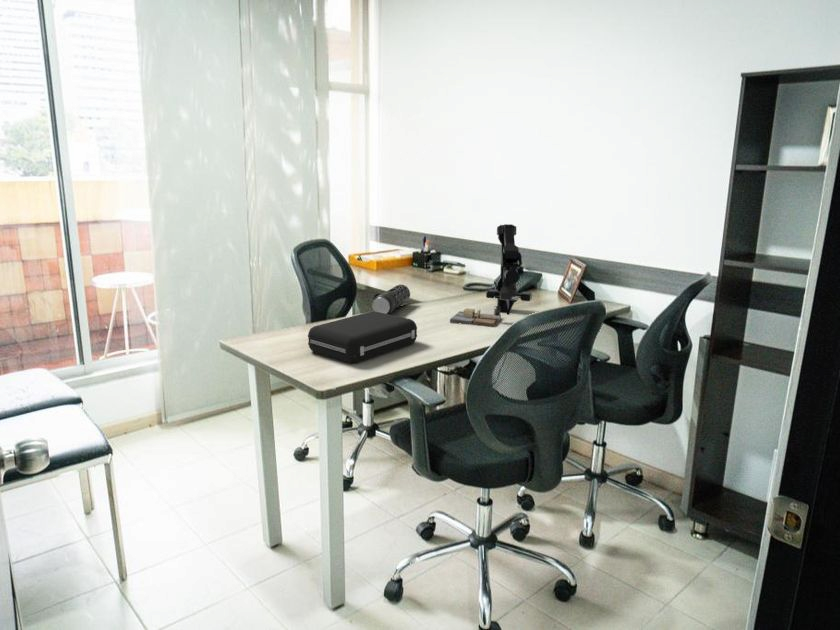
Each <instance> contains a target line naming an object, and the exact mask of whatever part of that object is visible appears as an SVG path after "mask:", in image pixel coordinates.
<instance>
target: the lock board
mask: <svg viewBox="0 0 840 630" xmlns="http://www.w3.org/2000/svg"><path fill="white" fill-rule="evenodd" d="M463 314H464V311H461V310H460V311H458V312H457V313H456V314H455V315H453V316H451V317H450V319H449V323H450V322H452V323H451V324H459V323H461V324H462V325H469V324H470V326H471V325H472V326H479V327H480V326H481V327H490V328H493V327H495V325H496V324H497V323H498V322H499V321H500V319H501V317H502V315H501V314H500V318H499V319H492V318H481V313H480V317H479V318H478V319H477V312H475V316H473V318H467V317H463Z"/></svg>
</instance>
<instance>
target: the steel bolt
mask: <svg viewBox="0 0 840 630" xmlns="http://www.w3.org/2000/svg"><path fill="white" fill-rule="evenodd" d="M480 314H481V318H492V319H499V318H500V315H501V312H500V306H497V305H495V306H494V312H493V313H485V312H480Z"/></svg>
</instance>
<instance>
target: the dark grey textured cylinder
mask: <svg viewBox="0 0 840 630" xmlns="http://www.w3.org/2000/svg"><path fill="white" fill-rule="evenodd" d="M410 297H411V291H410V289H409V287H408V286H407V285H404V284H397V285H395V286H394V287H392V288H390V289H389V290H387V291H385V292H383V293H380V294H379V295H377V296H375V298H374V299H373V301H372V311H376V312H380V313H385V314H389V315H391V313H392V312H394V311H395V310H397V309H398V308H399V307H401V306H402V305H403V304H405V303H406V302H408V301H409V300H410ZM396 308H397V309H396Z"/></svg>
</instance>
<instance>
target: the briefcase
mask: <svg viewBox="0 0 840 630" xmlns="http://www.w3.org/2000/svg"><path fill="white" fill-rule="evenodd" d="M417 329H418V327H417V323H416V322H415V321H414V320H413V319H411V318H405V317H402V316H399V315H398V316H397V315H392V314H385V313H380V312H376V311H374V310H372V311H368V312H367V311H366V312H363V313H360V314H357V315H352V316H348V317H345V318H342V319H337V320H333V321H330V322H326V323H321V324H318V325H313V327H311V328H310V329H309V331H308V333H307V337H308V341H307V342H308V343H307V345H308V348H309V349H310V350H311V352H313V353H317V354H318V355H322V356H326V357H329V358H332V359H336V360H338V361H342V362H346V363H349V364H357V362H358V363H360V361H361V362H362V361H367V360H368V359H372V358H374V357H378V356H381V355H383V354H387V353H389V351H390V352H392V350H393V351H395V349H396V350H398V349H400V348H404V347H407V346H410V345H412V344H414V343H415V342H416V340H417V337H418V333H417V332H418V330H417ZM386 352H387V353H386Z"/></svg>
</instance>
